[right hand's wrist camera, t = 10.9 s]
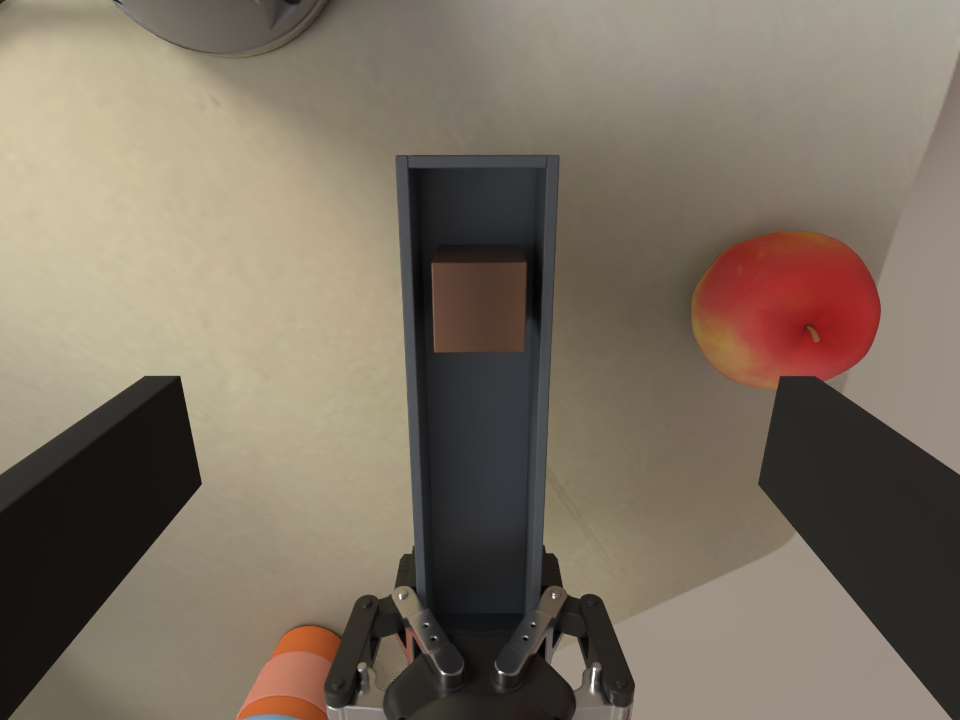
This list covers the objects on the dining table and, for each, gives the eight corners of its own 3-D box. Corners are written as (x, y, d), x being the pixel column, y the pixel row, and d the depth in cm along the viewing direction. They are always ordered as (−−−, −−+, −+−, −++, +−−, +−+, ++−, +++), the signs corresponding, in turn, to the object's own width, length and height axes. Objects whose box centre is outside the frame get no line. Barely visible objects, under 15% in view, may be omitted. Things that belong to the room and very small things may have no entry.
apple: (692, 209, 37) (764, 228, 28) (830, 231, 38) (945, 258, 29) (655, 345, 41) (707, 403, 31) (782, 364, 41) (871, 427, 32)
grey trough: (428, 612, 37) (421, 679, 32) (409, 155, 27) (395, 155, 23) (529, 612, 37) (537, 678, 32) (545, 155, 27) (559, 154, 23)
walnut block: (441, 321, 30) (433, 353, 25) (438, 244, 28) (431, 262, 24) (517, 321, 30) (524, 352, 25) (519, 244, 28) (527, 262, 24)
